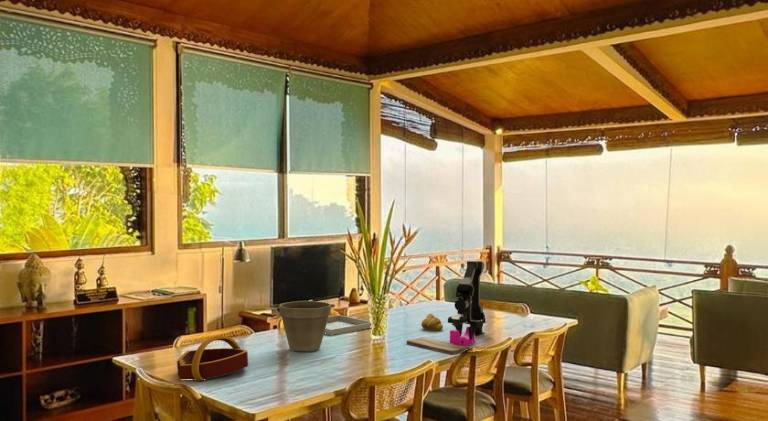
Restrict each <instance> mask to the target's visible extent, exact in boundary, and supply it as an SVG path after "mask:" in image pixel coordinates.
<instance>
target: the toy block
mask: <svg viewBox="0 0 768 421" xmlns="http://www.w3.org/2000/svg"><path fill="white" fill-rule="evenodd" d="M468 327H470V325H469V326H466V329H465V332H464V333H463V335H461V336H460V333H459V331H458V330H456V329H450V330H449V343H453V344H456V345H461V346H465V347H468V346H471V345H474V343H475V342H476V341H475V340H476V339H475V338H476V335H475V333H474V335H473V337H472V339H471V340H469V329H468Z"/></svg>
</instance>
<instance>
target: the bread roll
mask: <svg viewBox="0 0 768 421" xmlns="http://www.w3.org/2000/svg"><path fill="white" fill-rule="evenodd" d="M421 327H422V329H424V330H428V331H442V330H443V328H444V326H443V323H442V321H441V319H440V318H439V317H437V316H436V317H435V315H434V314H433V313H429V314H427V315H426V316H425V318H424V319H423V320H422V321H421Z"/></svg>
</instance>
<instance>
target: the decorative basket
mask: <svg viewBox="0 0 768 421" xmlns="http://www.w3.org/2000/svg"><path fill="white" fill-rule="evenodd" d="M214 341H222V342H225V343H226V344H228V345H229V346H230V347H228V348H226V347H222V348H221V347H220V348H207V346H209V345H210V344H211V343H213V342H214ZM248 352H249V351H248V350H246V349H243V348H241V347H240V345H239V343H238V342H237V341H236V340H235V339H234V338H232V337H230V336H226V335H218V336H214V337H211V338H208V339H206V340H204V341H203V342H202V343H201V344H200V345H199V346H198V347H197V349H192V350H186V351H185V352H184V353H183V354H182V355H180V356H179V358H178V359H177V361H176V363H177V364H176V365H177V376H178V375H179V376H178V378H179V377H180V378H179V379H196V380H195V381H198V380H204V379H213V378H217V377H222V376H225V375H229V374H231V373H235V372H238V371H239V370H243V369H245V368H248V367H249V358H248V357H249V356H248V355H249V354H248Z"/></svg>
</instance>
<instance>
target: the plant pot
mask: <svg viewBox="0 0 768 421" xmlns="http://www.w3.org/2000/svg"><path fill="white" fill-rule="evenodd" d="M278 306H279V307H278V309H279V310H278V311H279V316H280V317H281V320H282V326H283V328H284V332H285V335H286V336H285V337H286V339H287V344H288V348H289V350H290V349H291V351H292V350H294V351H293V352H296V351H311V352H315V351H314V350H316V351H319V350H320V349H321V346H322V342H323V338H324V335H325V334H324V332H325V328H327V327H326V326H327V324H328V322H327V320H328V317H329V316H331V312H332V311H331V310H332V304H331V303H329V302H325V301H315V300H301V301H297V300H296V301H290V302H282V303H280V304H279V305H278ZM319 348H320V349H319ZM318 349H319V350H318Z"/></svg>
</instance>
